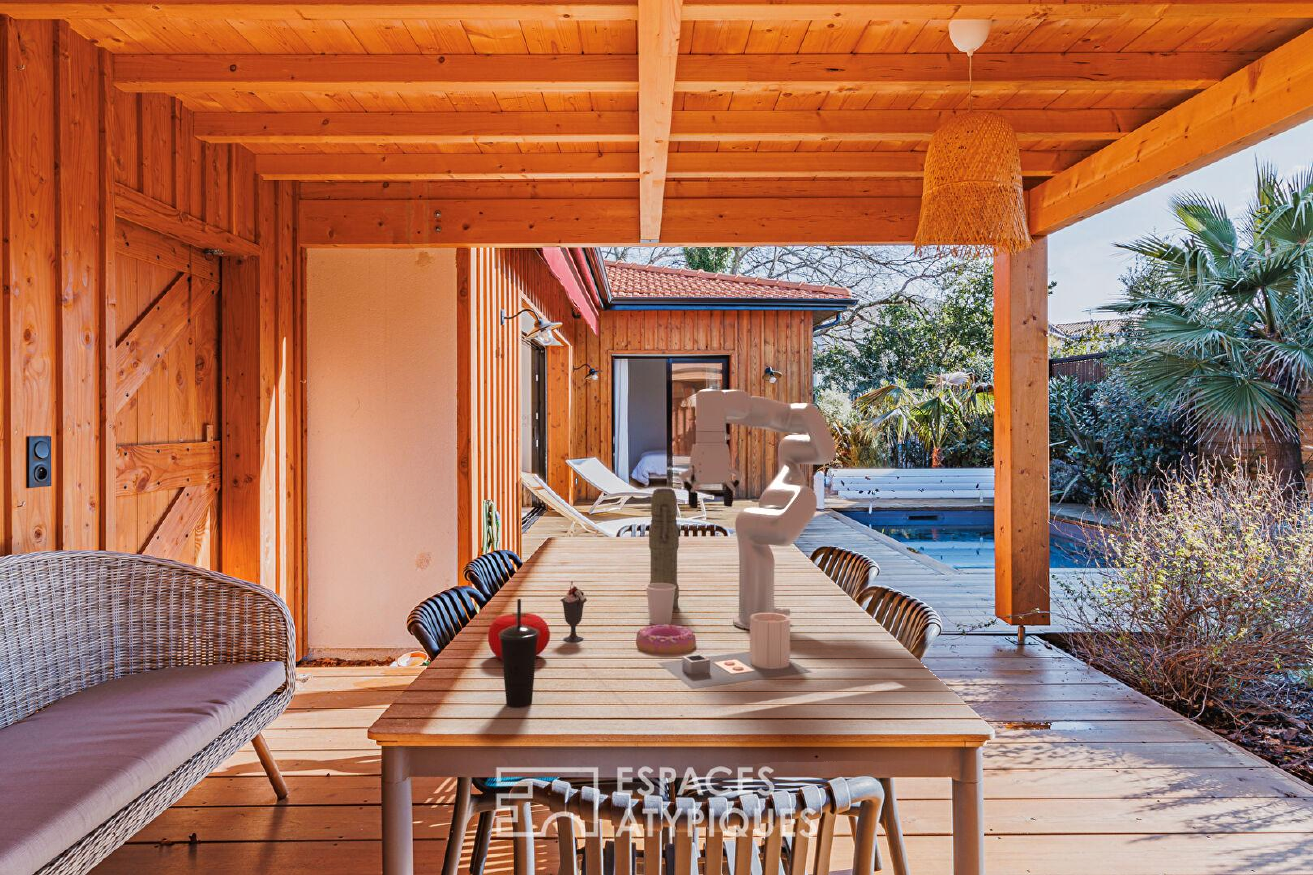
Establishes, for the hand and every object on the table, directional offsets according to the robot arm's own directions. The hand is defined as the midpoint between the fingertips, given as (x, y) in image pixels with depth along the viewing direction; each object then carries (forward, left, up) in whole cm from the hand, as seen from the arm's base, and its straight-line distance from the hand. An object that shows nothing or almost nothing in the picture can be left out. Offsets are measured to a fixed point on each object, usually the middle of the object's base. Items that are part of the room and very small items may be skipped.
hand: (710, 507), depth 192 cm
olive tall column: (-3, -37, -33) cm, 50 cm away
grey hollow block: (+16, +26, -32) cm, 44 cm away
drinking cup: (+54, +27, -33) cm, 69 cm away
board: (+7, +26, -33) cm, 43 cm away
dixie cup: (+5, -20, -33) cm, 39 cm away
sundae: (+32, -12, -33) cm, 48 cm away
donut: (+14, +5, -34) cm, 37 cm away
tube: (-2, +26, -32) cm, 41 cm away
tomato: (+48, -2, -34) cm, 59 cm away
